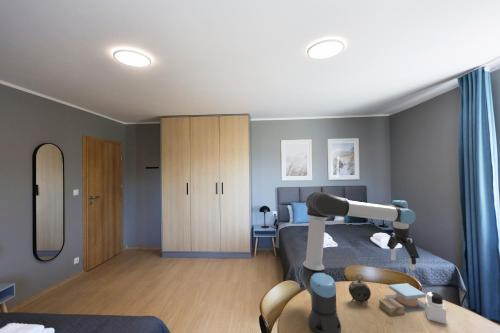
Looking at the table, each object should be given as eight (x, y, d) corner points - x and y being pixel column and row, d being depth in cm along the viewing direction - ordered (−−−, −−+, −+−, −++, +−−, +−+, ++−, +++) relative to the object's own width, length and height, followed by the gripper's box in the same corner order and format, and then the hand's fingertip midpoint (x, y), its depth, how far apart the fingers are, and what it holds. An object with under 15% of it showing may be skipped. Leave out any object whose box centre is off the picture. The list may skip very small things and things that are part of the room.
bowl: (406, 308, 118) (406, 298, 118) (392, 298, 128) (392, 288, 128) (422, 306, 119) (421, 296, 120) (407, 296, 129) (407, 287, 129)
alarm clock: (368, 300, 126) (367, 272, 127) (372, 306, 121) (371, 276, 122) (348, 300, 128) (347, 272, 128) (352, 305, 122) (350, 276, 123)
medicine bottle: (443, 316, 111) (441, 292, 112) (447, 324, 105) (445, 299, 106) (425, 312, 115) (424, 289, 115) (428, 320, 109) (426, 295, 109)
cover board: (405, 299, 117) (405, 296, 117) (389, 288, 129) (388, 284, 129) (425, 297, 119) (425, 294, 119) (407, 286, 130) (407, 283, 130)
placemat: (406, 313, 115) (406, 312, 115) (384, 296, 130) (383, 295, 130) (433, 309, 117) (433, 309, 117) (407, 293, 132) (407, 293, 132)
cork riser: (390, 316, 112) (390, 308, 112) (379, 307, 120) (379, 299, 120) (404, 314, 113) (404, 306, 113) (392, 305, 121) (392, 298, 121)
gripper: (426, 232, 114) (428, 273, 113) (390, 222, 139) (391, 256, 138) (413, 233, 113) (415, 274, 112) (379, 222, 138) (380, 256, 137)
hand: (402, 264), depth 125 cm, fingers open, 13 cm apart
